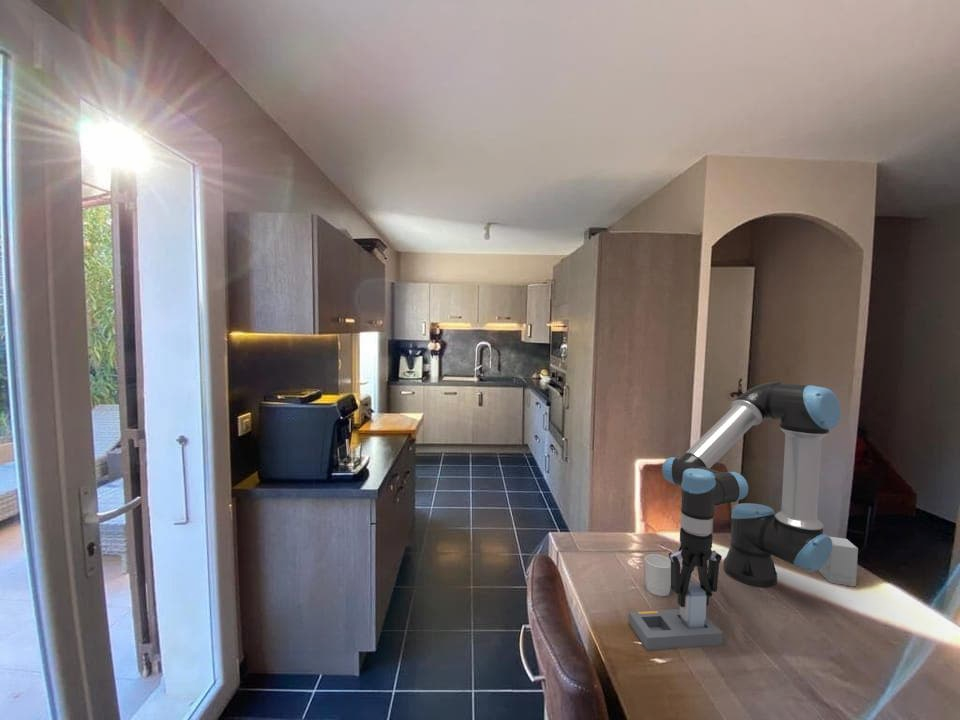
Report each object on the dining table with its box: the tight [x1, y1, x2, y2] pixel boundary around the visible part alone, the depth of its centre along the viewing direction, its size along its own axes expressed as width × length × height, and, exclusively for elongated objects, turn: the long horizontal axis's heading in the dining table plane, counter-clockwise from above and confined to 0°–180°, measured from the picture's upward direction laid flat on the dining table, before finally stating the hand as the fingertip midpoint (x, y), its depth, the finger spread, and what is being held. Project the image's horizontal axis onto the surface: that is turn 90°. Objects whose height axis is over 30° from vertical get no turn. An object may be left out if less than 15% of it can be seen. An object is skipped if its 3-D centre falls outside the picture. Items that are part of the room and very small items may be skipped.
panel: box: [628, 608, 724, 651], centre depth 111 cm, size 20×10×4 cm, turn 96°
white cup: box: [644, 553, 672, 597], centre depth 130 cm, size 8×8×10 cm
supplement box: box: [818, 536, 859, 587], centre depth 139 cm, size 7×7×13 cm
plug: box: [681, 582, 706, 629], centre depth 111 cm, size 4×4×12 cm
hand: (692, 616), depth 111 cm, fingers closed on plug, 4 cm apart
